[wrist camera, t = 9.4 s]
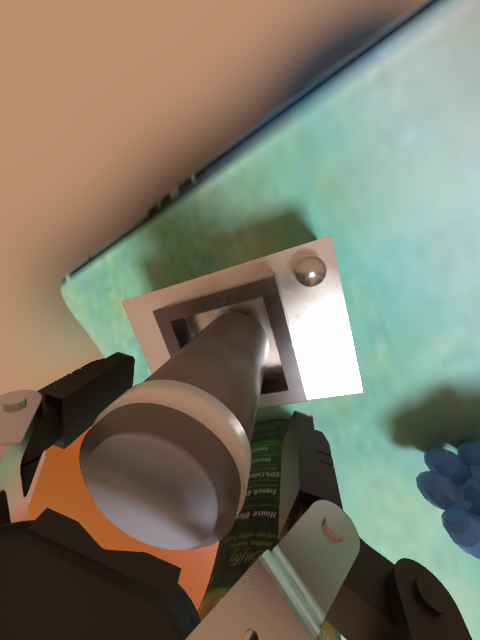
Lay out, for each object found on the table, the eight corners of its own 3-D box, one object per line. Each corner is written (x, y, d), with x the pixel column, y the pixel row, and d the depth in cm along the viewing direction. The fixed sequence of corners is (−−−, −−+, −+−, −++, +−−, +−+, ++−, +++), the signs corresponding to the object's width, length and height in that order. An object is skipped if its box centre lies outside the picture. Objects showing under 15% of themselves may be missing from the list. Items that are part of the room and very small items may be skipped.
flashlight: (208, 302, 16) (63, 390, 6) (279, 321, 16) (263, 462, 5) (197, 364, 18) (68, 522, 7) (261, 384, 17) (219, 589, 7)
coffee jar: (232, 423, 26) (125, 754, 9) (297, 409, 24) (325, 812, 7) (262, 486, 28) (222, 865, 11) (326, 479, 26) (406, 941, 8)
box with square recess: (318, 240, 19) (338, 232, 12) (343, 356, 22) (372, 410, 14) (161, 290, 23) (101, 307, 16) (196, 382, 26) (158, 434, 18)
